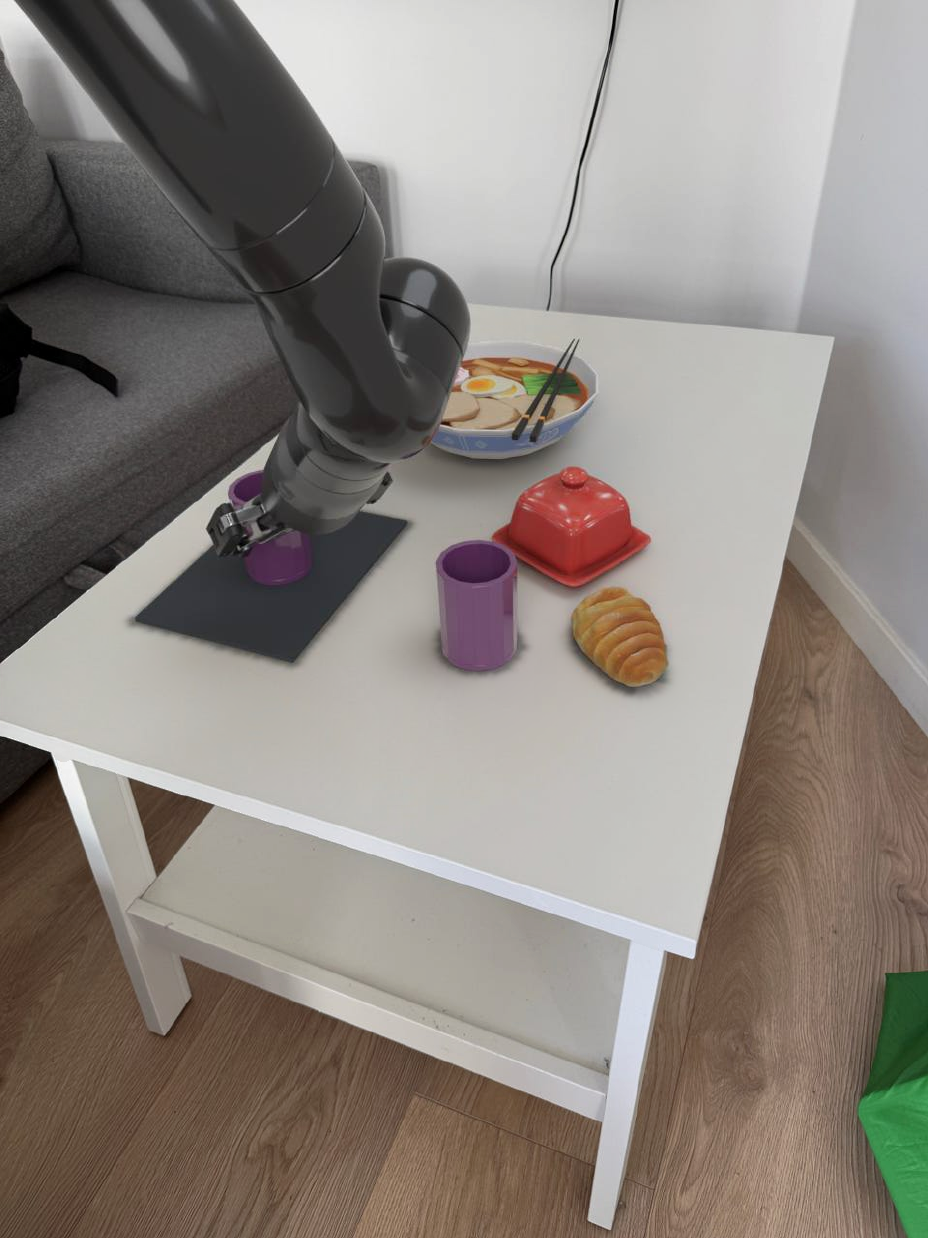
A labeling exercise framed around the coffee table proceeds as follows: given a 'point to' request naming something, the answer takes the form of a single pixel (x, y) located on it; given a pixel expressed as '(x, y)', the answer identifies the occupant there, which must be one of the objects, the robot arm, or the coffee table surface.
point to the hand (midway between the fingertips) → (285, 530)
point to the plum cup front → (276, 558)
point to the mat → (272, 592)
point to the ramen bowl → (514, 399)
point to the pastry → (620, 636)
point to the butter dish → (572, 527)
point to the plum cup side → (477, 604)
